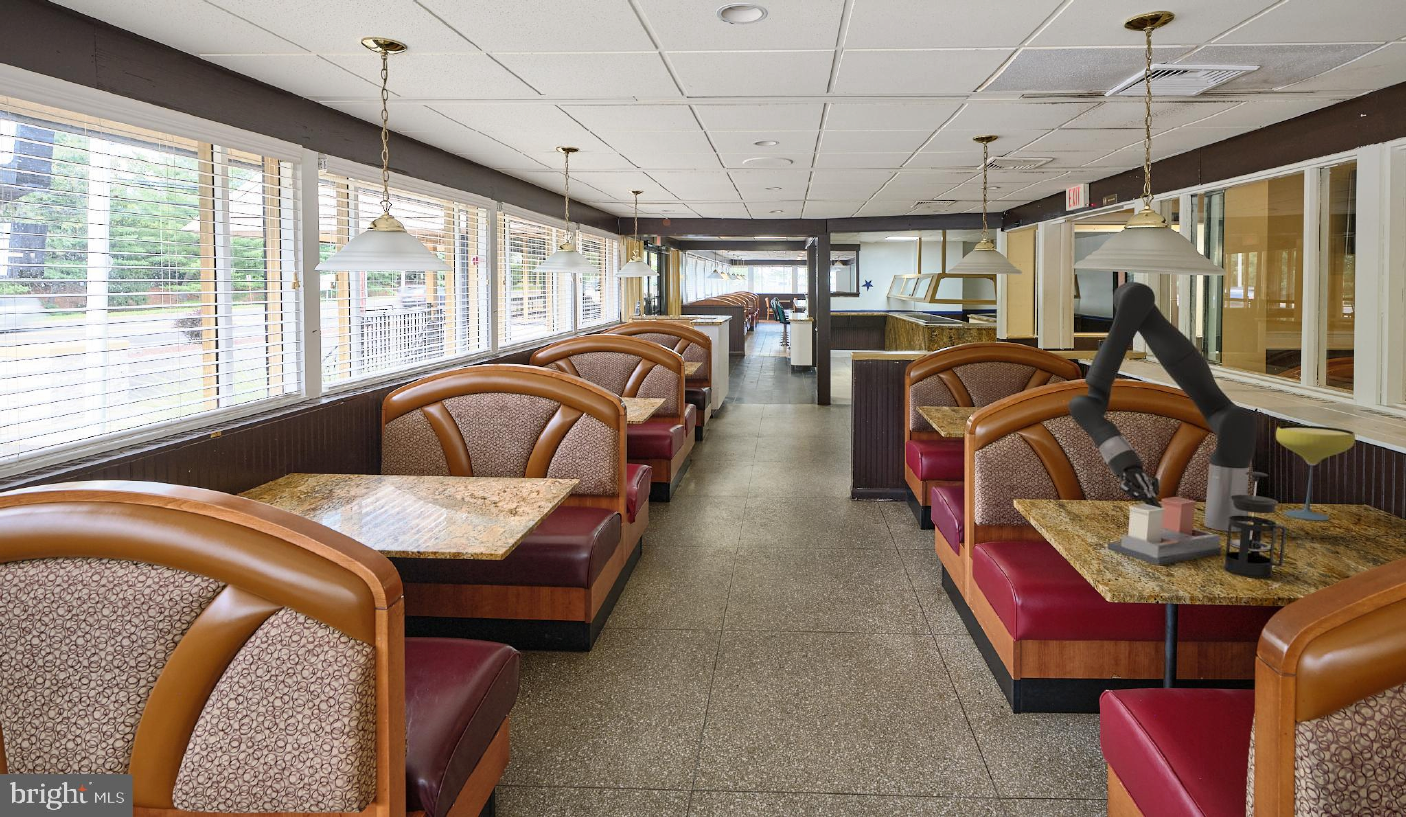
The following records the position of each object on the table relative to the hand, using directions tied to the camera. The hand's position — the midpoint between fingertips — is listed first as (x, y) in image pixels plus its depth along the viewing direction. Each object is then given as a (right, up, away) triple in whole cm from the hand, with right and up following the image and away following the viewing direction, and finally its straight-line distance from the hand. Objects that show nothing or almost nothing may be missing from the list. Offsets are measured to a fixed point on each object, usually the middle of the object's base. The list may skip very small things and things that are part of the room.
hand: (1158, 512), depth 216 cm
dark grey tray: (-4, -8, -8) cm, 12 cm away
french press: (+8, -11, -24) cm, 28 cm away
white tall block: (-10, -7, -11) cm, 17 cm away
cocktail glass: (+56, -4, +26) cm, 62 cm away
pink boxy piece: (+2, -6, -4) cm, 8 cm away
